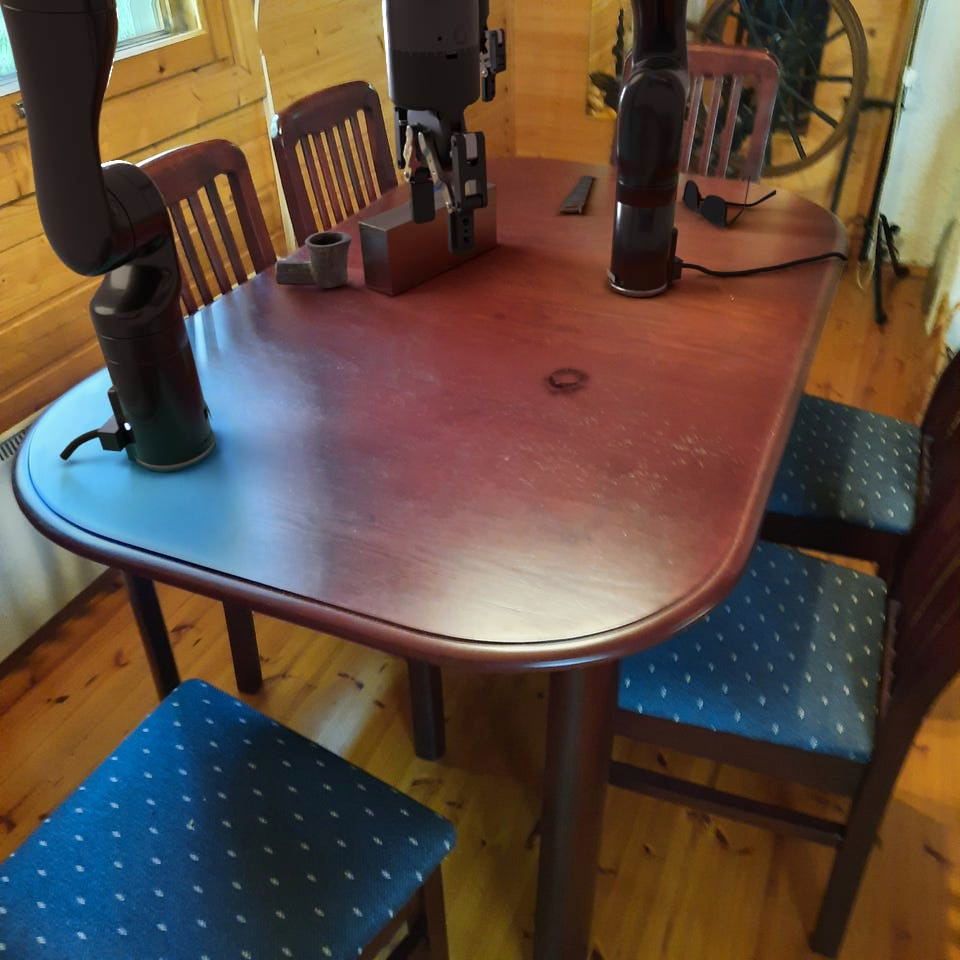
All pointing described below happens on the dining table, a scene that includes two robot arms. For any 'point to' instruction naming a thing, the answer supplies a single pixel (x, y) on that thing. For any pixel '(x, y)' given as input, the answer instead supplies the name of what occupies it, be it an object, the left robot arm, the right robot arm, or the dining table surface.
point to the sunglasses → (714, 204)
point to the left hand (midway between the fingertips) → (442, 236)
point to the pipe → (318, 262)
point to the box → (418, 244)
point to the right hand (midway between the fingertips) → (467, 97)
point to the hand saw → (577, 197)
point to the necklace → (562, 383)
